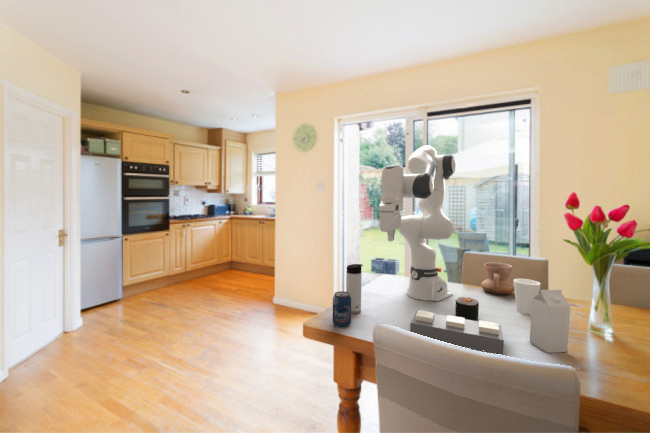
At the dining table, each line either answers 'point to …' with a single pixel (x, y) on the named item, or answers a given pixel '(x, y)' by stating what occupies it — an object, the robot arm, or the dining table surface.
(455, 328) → the block
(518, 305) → the foam cup
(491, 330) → the knob
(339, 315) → the soda can
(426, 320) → the knob
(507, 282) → the ceramic jug
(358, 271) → the travel mug
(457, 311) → the sushi
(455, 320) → the knob middle
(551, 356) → the dining table surface
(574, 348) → the dining table surface
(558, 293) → the milk carton
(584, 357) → the dining table surface
